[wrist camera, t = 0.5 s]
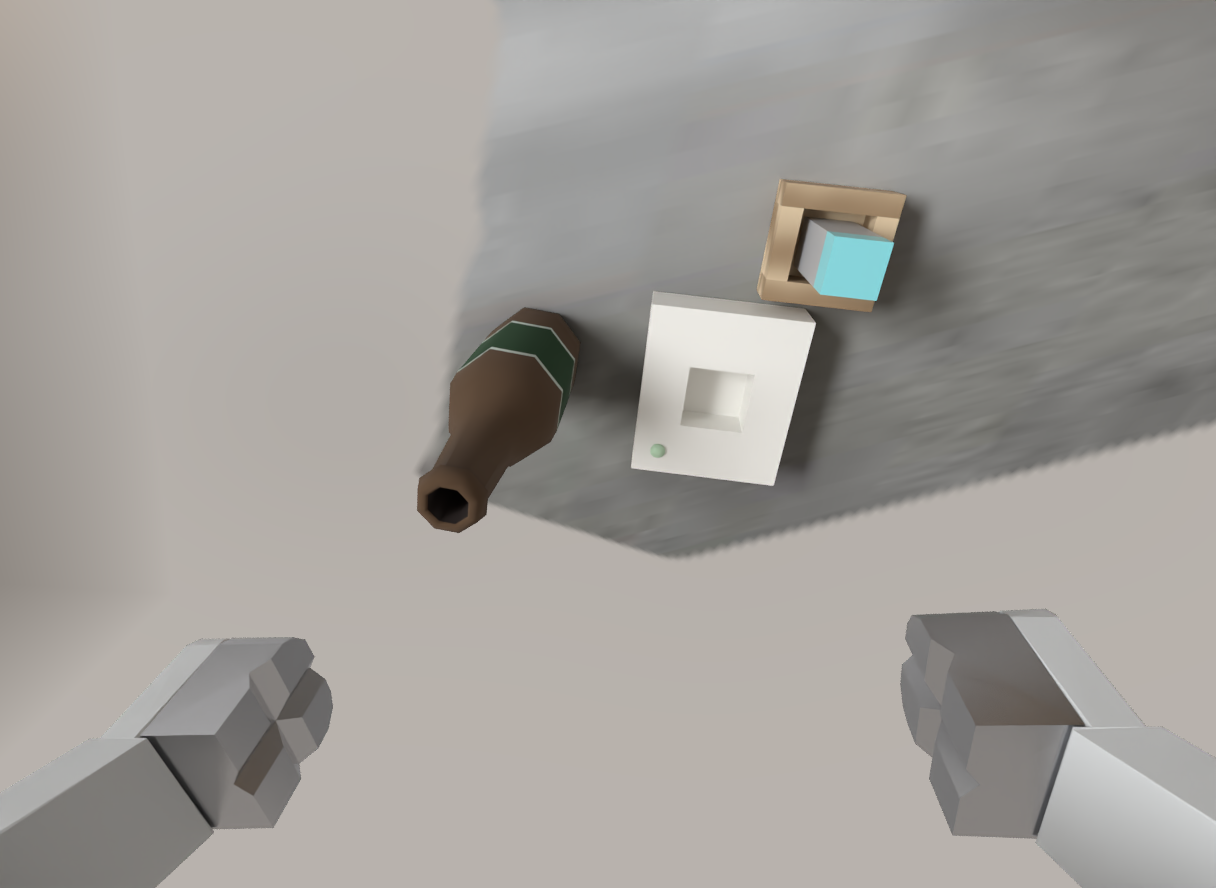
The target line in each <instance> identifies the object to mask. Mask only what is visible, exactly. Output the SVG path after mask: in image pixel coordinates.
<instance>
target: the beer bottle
mask: <svg viewBox="0 0 1216 888" xmlns="http://www.w3.org/2000/svg"><path fill="white" fill-rule="evenodd" d="M579 350H580V341H579V340H578V338H577V337H576V336H575V334H574V333H573V332H572V330H571V329H570V328H569V326H568V325H567V324H566V322H565V321H564V320H563V318H562V317H561V316H560V314H556V313H551V312H546V311H540V310H535V309H530V308H523V309H521V310H520V311H519V312H517V313H516V314H514V315H513V316H512V317H510V318H509V319H508V320H506V321H505V322H504V323H502V324H501V325H499V326H498V327H497V328H496V329H495V330H493V331H492V332H491V333H490V334H489V335H488V337H487V338H486V339H485V340H484V341H483V343H482V344H481V345H480V346H479V347H478V348H477V350H476V351H475V352H474V353H473V354H472V355H471V357H470V358H469V359H468V360H467V361H466V362H465V364H464V365H463V366H462V367H461V368H460V370H459V371H458V372H457V373H456V375H455V377H454V378H453V380H452V382H451V383H450V404H449V433H450V434H451V436H450V438H449V439H448V441H447V443H446V445H445V447H444V449H443V451H442V452H441V454H440V456H439V458H438V460H437V462H436V464H435V465H434V467H433V469H432V470H431V471H429V472H428V473H426V474H425V475H423V476H422V477H420V478H419V485H418V499H417V500H418V502H417V503H418V504H417V511H418V512H419V513H420V514H421V515H422V516H423V517H424V518H425V519H426V520H427V521H428V522H429V523H430V524H431V525H432V526H433V527H434V528H436V529H441V530H446V531H451V532H457V533H460V532H462V531H463V530H465V529H467V528H468V527H470V526H472V525H473V524H475V523H477V522H478V521H479V520H480V519H482V518H483V517H484V516H485V515H486V513H487V501H488V498H489V496H490V495H491V493H492V491H493V490H494V488H495V487H496V485H497V483H498V482H499V480H500V478H501V477H502V475H503V474H504V472H505V470H506V469H507V467H508V466H510V467H511V466H512V465H514V464H516V463H517V462H519V461H521V460H522V459H524V458H525V457H527V456H529V455H530V454H532V453H534V452H535V451H537V450H538V449H540V448H542V447H543V446H545V445H546V444H548V443H550V442H551V440H552V438H553V437H554V435H555V433H556V431H557V429H558V426H559V423H560V420H561V418H562V415H563V412H564V409H565V407H566V404H567V401H568V398H569V396H570V393H571V390H572V387H573V385H574V381H575V376H576V370H577V363H578V356H579Z"/></svg>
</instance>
